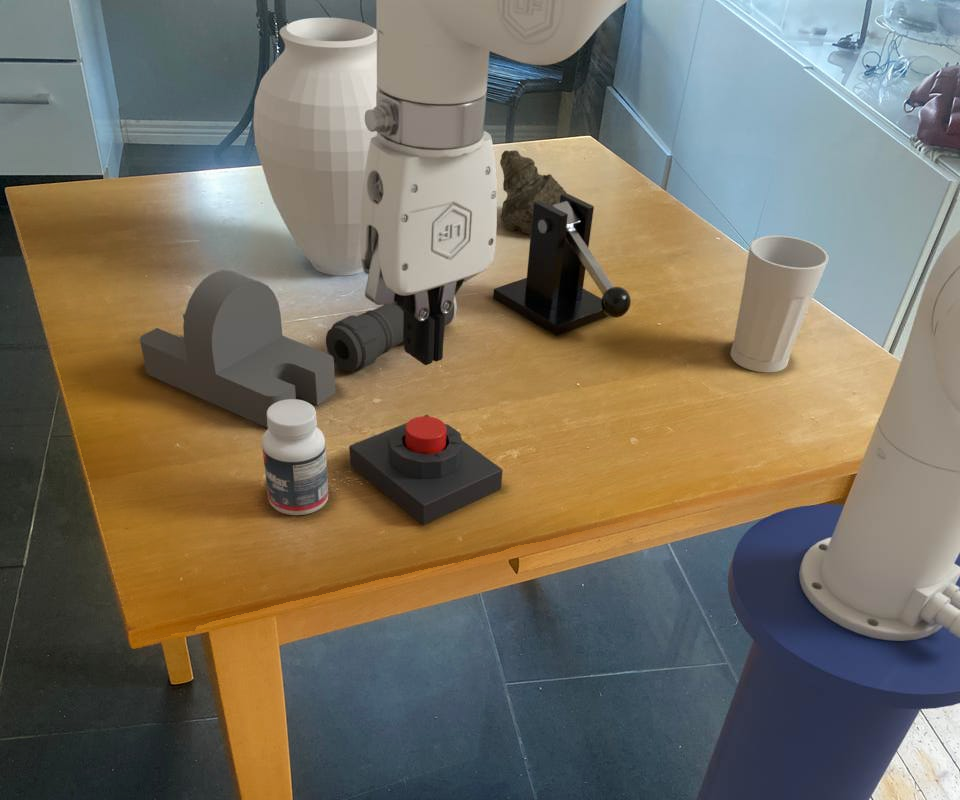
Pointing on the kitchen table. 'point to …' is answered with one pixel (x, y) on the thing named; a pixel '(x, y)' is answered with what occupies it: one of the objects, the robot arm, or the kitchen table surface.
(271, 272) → the kitchen table surface
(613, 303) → the lever
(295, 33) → the vase
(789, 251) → the cup
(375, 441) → the button block
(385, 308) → the flashlight
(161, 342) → the bracket
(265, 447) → the pill bottle
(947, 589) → the robot arm
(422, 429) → the button
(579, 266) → the bracket
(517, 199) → the brown rock
